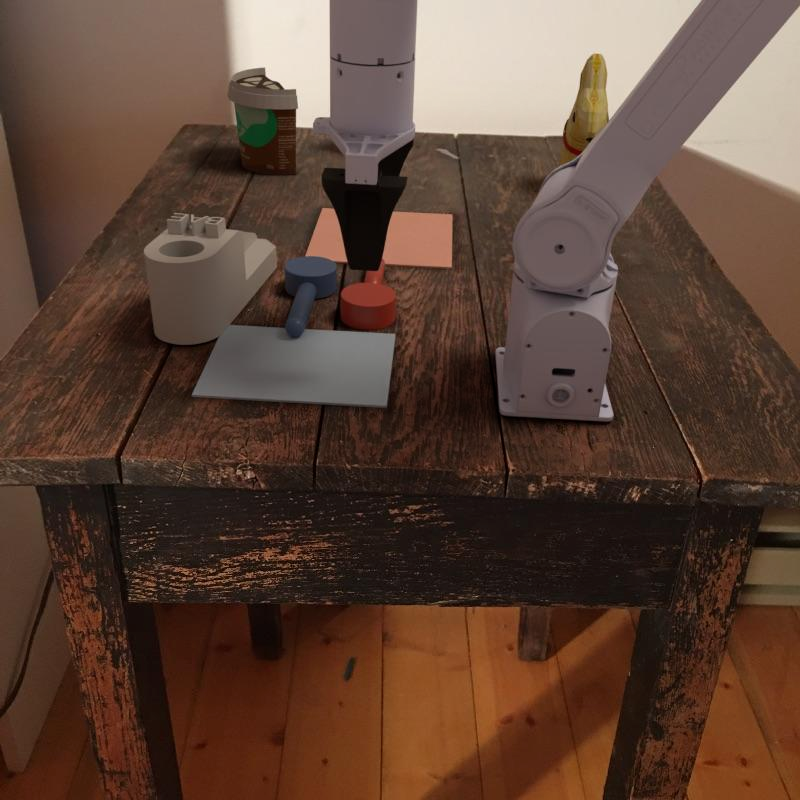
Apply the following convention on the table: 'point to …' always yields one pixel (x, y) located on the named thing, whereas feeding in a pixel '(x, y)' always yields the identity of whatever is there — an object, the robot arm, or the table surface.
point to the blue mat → (299, 367)
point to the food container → (264, 122)
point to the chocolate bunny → (586, 110)
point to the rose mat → (393, 240)
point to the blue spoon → (307, 288)
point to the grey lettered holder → (203, 277)
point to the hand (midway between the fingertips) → (369, 247)
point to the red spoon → (369, 302)
